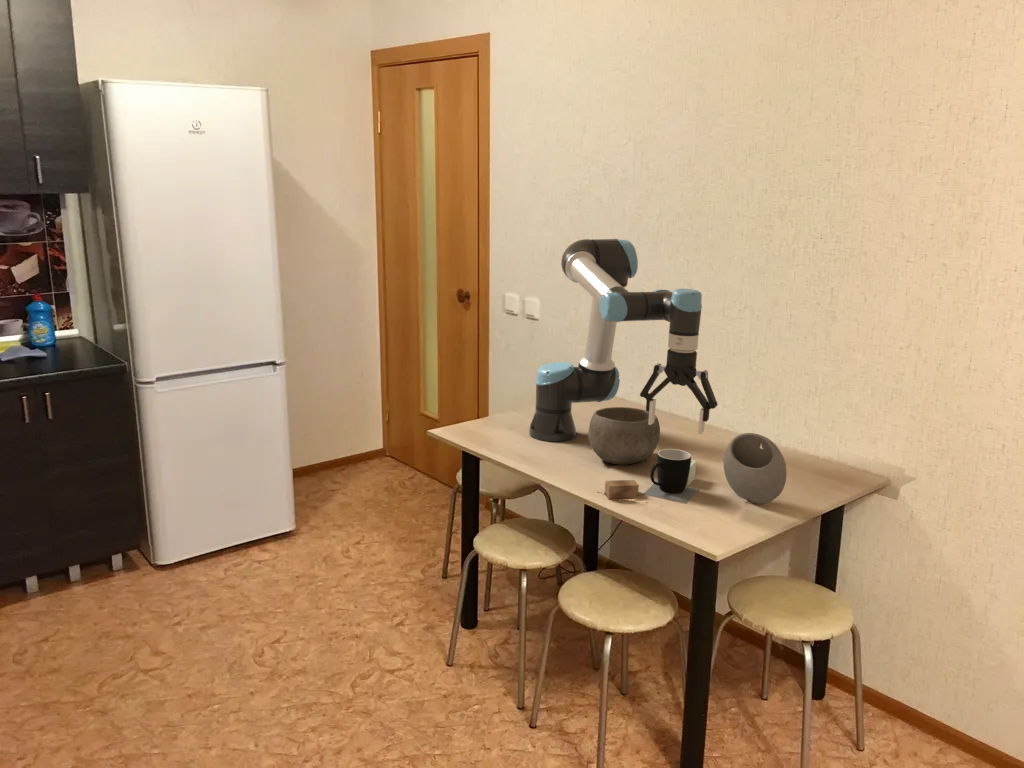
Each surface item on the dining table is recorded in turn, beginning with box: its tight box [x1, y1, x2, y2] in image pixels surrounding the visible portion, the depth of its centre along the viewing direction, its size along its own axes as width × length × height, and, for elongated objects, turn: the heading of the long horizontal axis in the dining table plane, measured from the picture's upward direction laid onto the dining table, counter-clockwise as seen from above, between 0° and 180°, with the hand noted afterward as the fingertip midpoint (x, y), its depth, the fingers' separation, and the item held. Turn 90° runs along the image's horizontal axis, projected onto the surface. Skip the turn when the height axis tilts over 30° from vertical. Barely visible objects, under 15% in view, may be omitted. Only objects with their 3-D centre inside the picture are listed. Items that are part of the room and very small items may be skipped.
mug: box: [649, 448, 692, 494], centre depth 228 cm, size 12×9×10 cm
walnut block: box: [604, 479, 639, 501], centre depth 226 cm, size 8×4×4 cm, turn 99°
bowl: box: [587, 406, 661, 466], centre depth 252 cm, size 21×21×15 cm
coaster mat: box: [642, 480, 700, 504], centre depth 229 cm, size 12×12×1 cm
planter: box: [723, 432, 788, 504], centre depth 223 cm, size 18×7×19 cm, turn 42°
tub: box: [686, 459, 697, 487], centre depth 237 cm, size 7×7×6 cm
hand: (675, 428), depth 224 cm, fingers open, 13 cm apart
